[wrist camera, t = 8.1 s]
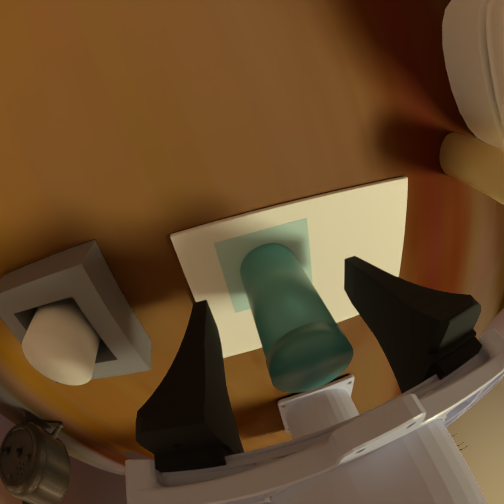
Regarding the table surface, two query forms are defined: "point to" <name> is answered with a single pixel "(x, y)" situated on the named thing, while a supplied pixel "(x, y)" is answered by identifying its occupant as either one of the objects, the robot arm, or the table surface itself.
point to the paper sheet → (294, 250)
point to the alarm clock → (34, 464)
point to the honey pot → (477, 64)
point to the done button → (62, 343)
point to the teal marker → (292, 321)
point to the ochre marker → (474, 164)
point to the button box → (88, 299)
